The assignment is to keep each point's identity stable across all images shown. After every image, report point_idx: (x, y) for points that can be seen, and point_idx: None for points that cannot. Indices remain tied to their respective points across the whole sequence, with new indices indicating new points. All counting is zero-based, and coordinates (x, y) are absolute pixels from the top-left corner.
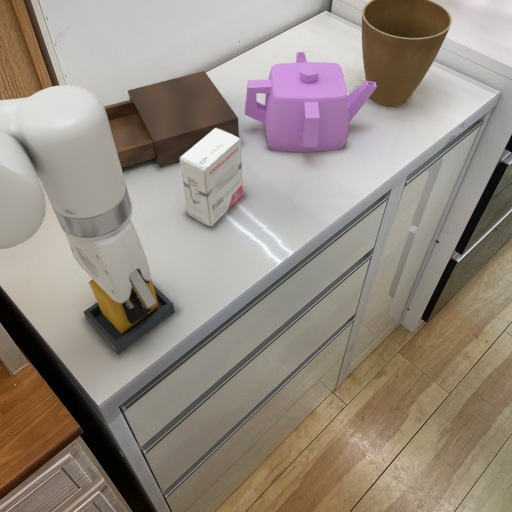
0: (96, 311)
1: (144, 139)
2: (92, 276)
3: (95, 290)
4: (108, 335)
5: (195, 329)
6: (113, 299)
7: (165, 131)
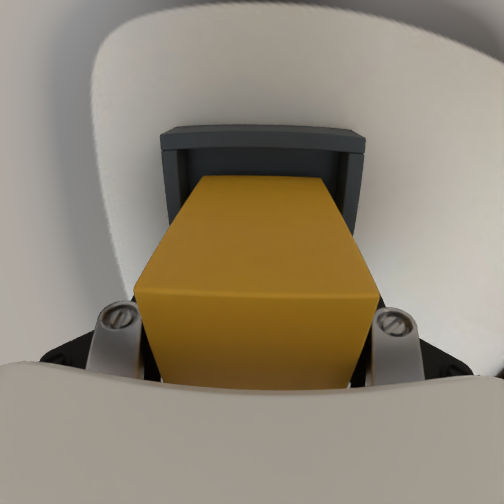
0: (341, 169)
1: None
2: (266, 464)
3: (306, 277)
4: (213, 141)
5: (129, 300)
6: (20, 370)
7: None
